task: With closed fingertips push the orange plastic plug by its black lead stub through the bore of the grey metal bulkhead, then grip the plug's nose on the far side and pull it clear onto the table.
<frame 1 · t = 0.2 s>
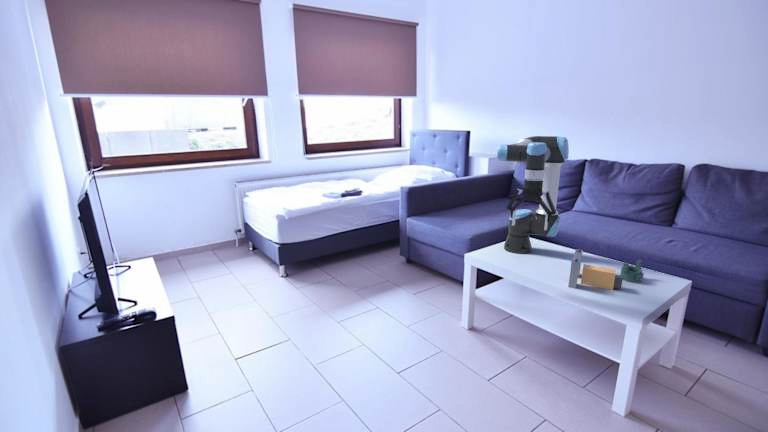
hand: (529, 227, 170), 28 cm above the table, fingers open, 13 cm apart
plug: (596, 284, 178), on the table
housing: (574, 280, 183), on the table
teal lumpy piece: (630, 279, 184), on the table
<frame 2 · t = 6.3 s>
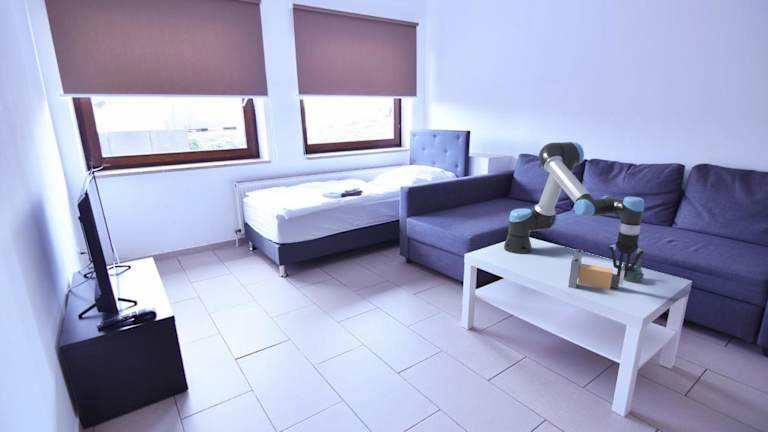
hand: (620, 283, 173), 3 cm above the table, fingers closed
plug: (593, 284, 179), on the table, touching gripper
everything else where it was.
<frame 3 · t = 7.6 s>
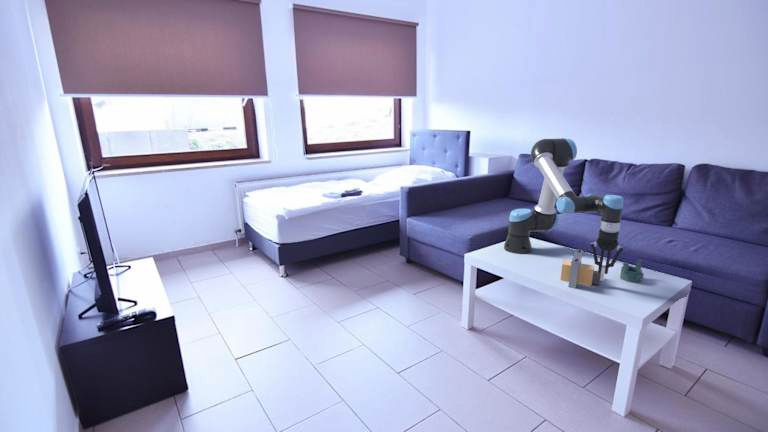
hand: (601, 279, 177), 3 cm above the table, fingers closed
plug: (576, 280, 182), on the table, touching gripper
everything else where it was.
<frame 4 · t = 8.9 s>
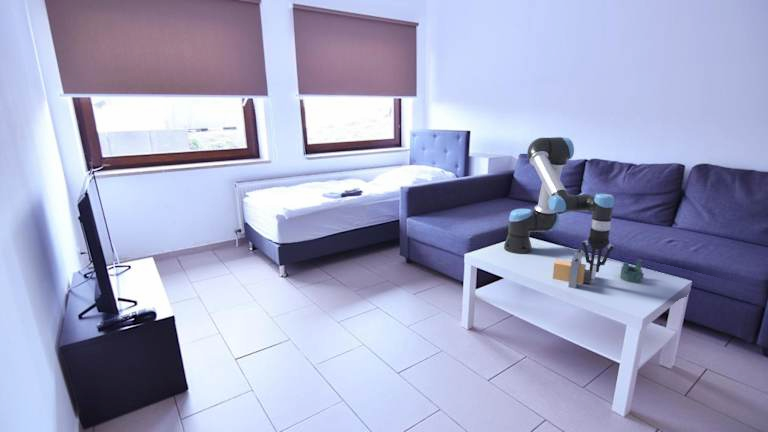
hand: (593, 277, 178), 3 cm above the table, fingers closed
plug: (568, 279, 184), on the table
everything else where it was.
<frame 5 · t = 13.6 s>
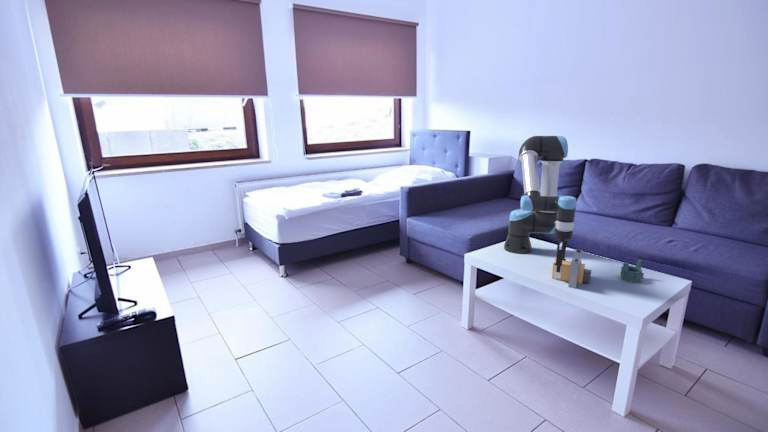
hand: (558, 275, 186), 1 cm above the table, fingers closed on plug, 5 cm apart
plug: (567, 279, 184), on the table, touching gripper
everything else where it was.
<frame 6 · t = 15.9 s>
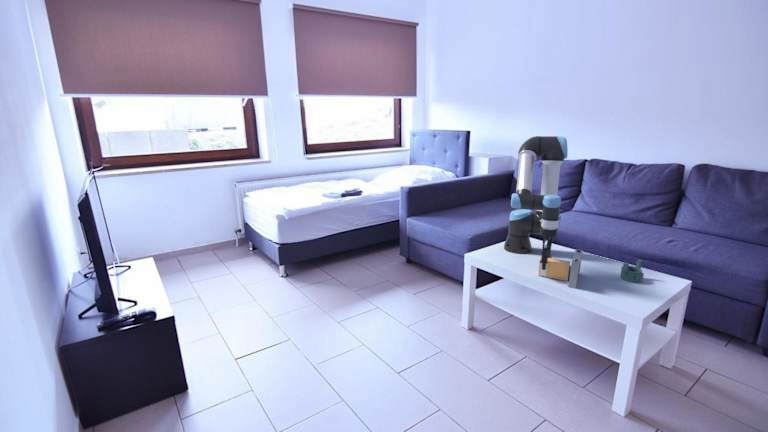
hand: (544, 272, 190), 1 cm above the table, fingers closed on plug, 5 cm apart
plug: (553, 276, 188), on the table, touching gripper
everything else where it was.
when the fingers open (1 cm above the table, at t = 17.8 s): plug stays where it is, on the table.
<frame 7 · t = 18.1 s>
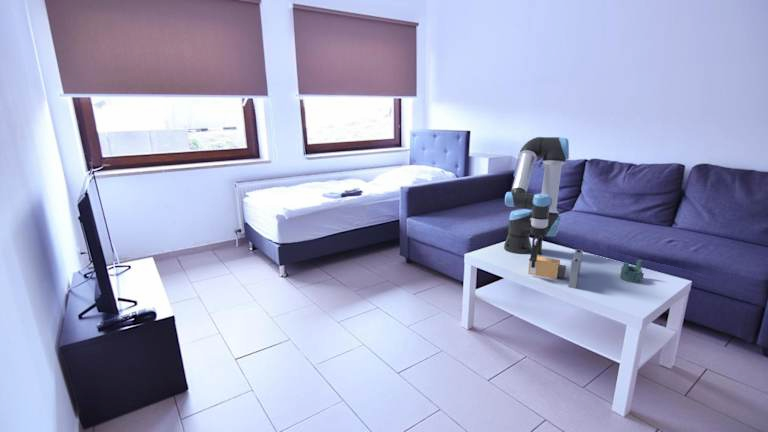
hand: (534, 269, 191), 1 cm above the table, fingers open, 9 cm apart
plug: (543, 274, 190), on the table
everything else where it was.
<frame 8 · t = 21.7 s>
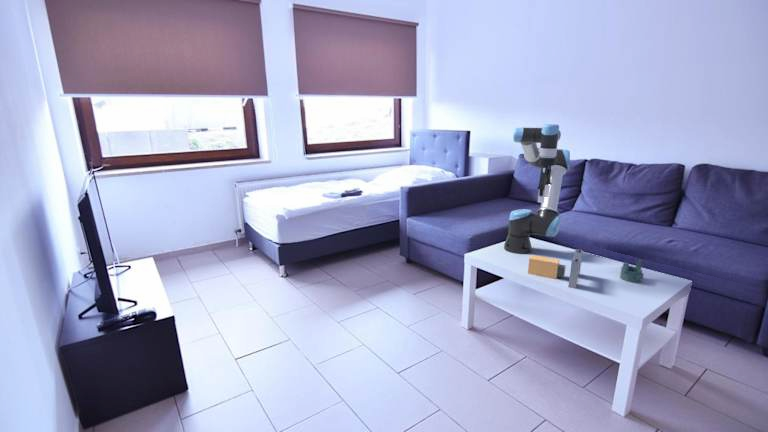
hand: (543, 199, 193), 35 cm above the table, fingers open, 13 cm apart
nothing on the table moved.
at the end: plug inside the target area (3.9 cm from its centre), on the table; plug touching table; the gripper is holding nothing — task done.
